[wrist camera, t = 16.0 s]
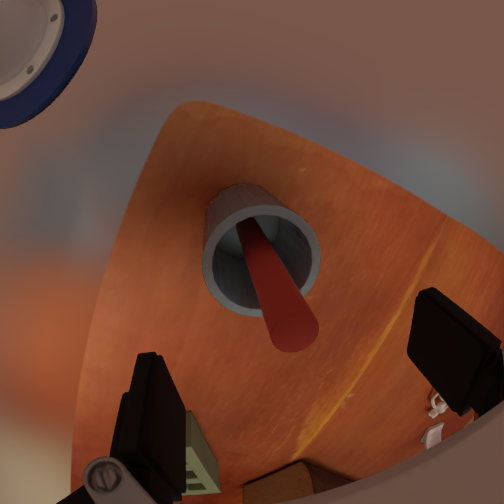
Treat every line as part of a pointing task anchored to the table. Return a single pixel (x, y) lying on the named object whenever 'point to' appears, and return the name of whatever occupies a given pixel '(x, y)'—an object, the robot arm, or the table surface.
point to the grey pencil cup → (231, 254)
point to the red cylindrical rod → (276, 291)
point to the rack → (199, 462)
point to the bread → (291, 484)
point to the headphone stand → (432, 435)
